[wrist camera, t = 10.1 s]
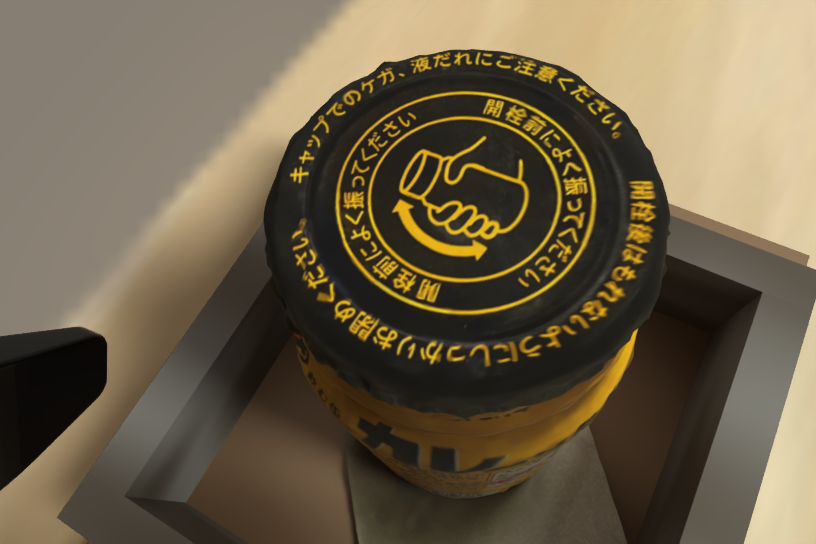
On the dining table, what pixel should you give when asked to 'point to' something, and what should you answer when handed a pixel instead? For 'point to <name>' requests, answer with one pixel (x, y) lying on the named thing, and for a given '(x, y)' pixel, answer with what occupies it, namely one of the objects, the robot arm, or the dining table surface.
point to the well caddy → (616, 446)
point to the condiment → (469, 291)
